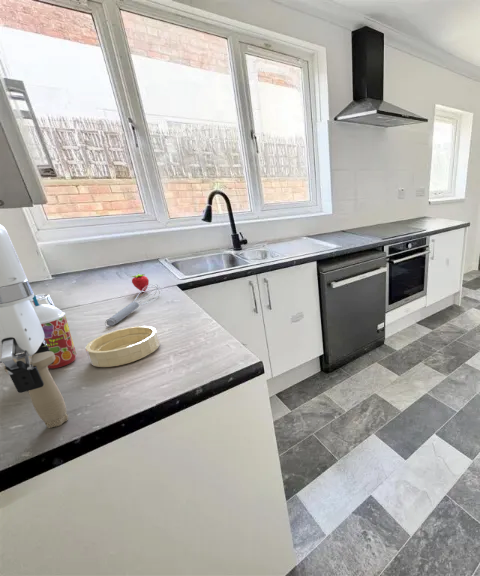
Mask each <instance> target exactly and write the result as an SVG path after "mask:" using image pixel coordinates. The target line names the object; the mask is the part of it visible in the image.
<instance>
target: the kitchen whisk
mask: <svg viewBox="0 0 480 576" xmlns="http://www.w3.org/2000/svg"><path fill="white" fill-rule="evenodd" d="M147 286H148V287H147V288H146V292H148V290H150V289H151V288H154V289H156V290H154V292H153V290H151V291H149V292H148V293H145V295H144V294H142V295H141V293H143V292H142V291H143V289H144V288H145V287H144V288H143V289H142V291H140V292H139V293H138V294H137V295H136V297H135V299H134V300H133V301H132V302H130V303H129V304H127V305H126V306H125V307H123V308H121V309H120V310H119V311H118V312H116V313H115V314H113V315H112V316H111V317H109V318H107V319H106V320H105V321H104V326H105V327H106V328H108V327H111V328H113V327H114V326H115V325H117V324H118V323H120V321H122V320H123V319H124V318H126V317H127V316H129V315H130V314H131V313H132V312H134V311H135V310H136V309H138V308H139V307H140V306H145V305H146V304H148V302H151V301H153V300H155V299H157V298H159V297H158V296H161V295H162V294H163V290H161V286H159V284H157V283H154V284H152V286H150V287H149V284H148V285H147ZM144 290H145V289H144ZM160 290H161V293H160ZM157 292H158V293H159V294H160V295H159V294H158V295H157V296H154V297H153V298H152V299H151V298H150V299H148V300H149V301H148V302H146V301H144V300H145V299H147V298H148V297H150V296H151V295H153V294H154V295H156V293H157ZM150 293H151V294H150ZM148 294H149V295H148ZM139 295H141V296H140V297H139ZM146 295H147V296H146ZM145 296H146V297H145ZM138 297H139V298H138ZM142 298H143V299H142ZM141 299H142V300H141ZM140 300H141V301H140ZM142 301H144V302H142ZM140 302H142V303H140Z"/></svg>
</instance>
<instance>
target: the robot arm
mask: <svg viewBox="0 0 480 576" xmlns="http://www.w3.org/2000/svg"><path fill="white" fill-rule="evenodd" d="M34 295H35V294H34V291H33V288H32V285H31V283H30V281H29V279H28V277H27V274H26V272H25V269H24V268H23V265H22V263H21V260H20V258H19V256H18V253H17V251H16V248H15V246H14V243H13V241H12V239H11V237H10V234H9V232H8V230H7V229H6V227H5V226H3V225H2V224H0V364H1V363H2V364H4V366H5V367H6V368H5V369H7V372H8V374H7V375H9V376H10V379H11V381H12V383H13V385H14V387H15V389H16V392H18V394H23V393H25V392H29V391H30V390H33V389H37V388H40V387H43V385H44V382H43V380H42V378H41V376H40V374H39V371H38V369H37V367H33V362H32V356H31V355H33V354H37V353H42V352H47V351H50V350H49V348H48V346H46V345H47V344H46V341H45V340H44V331H43V328H42V326H41V323H40V321H39V319H38V317H37V315H36V312H35V310H34V308H33V306H32V305H31V303H30V301H29V299H32V298H33V297H34ZM43 346H45V347H43ZM24 358H25V363H26V364H25V363H24V362H22V361H18V360H20V359H24ZM53 363H54V362H52V363H51V364H53ZM51 364H50V365H51ZM5 369H4V370H5ZM7 372H6V373H7Z"/></svg>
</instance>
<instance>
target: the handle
mask: <svg viewBox="0 0 480 576" xmlns="http://www.w3.org/2000/svg"><path fill="white" fill-rule="evenodd" d="M31 356H32V362H33V367H37V369H38V371H39V374H40V376H41V378H42V380H43V382H44V385H43V387H40V388H37V389H33V390H30V391H28V393H29V396H30V400H31V403H32V405H33V408H34V410H35V412H36V414H37V415H38V417H39V418H40V419H41V421H42V422H44V424H45V426H46V427H47V428H48V429H52V428H56V427H59V426H62V425H63V424H64V423H65V422H67V421H68V420H69V414H67V405H66V402H65V400H64V397H63V395H62V393H61V390H60V389H59V387H58V385H57V384H56V382H55V380H54V378H53V376H52V374H51V372H50V370H49V368H48V365H50V364H51V363H52V362H54V360H55V359H56V358H55V355H54V352H52V351H47V352H42V353H37V354H33V355H31ZM18 361H22V362H24V363H25V358H24V359H20V360H18ZM25 364H26V363H25ZM5 368H6V367H5V365H4V366H3V369H4V371H5V372H6V374H7V375H9V374H8V372H7V369H5Z"/></svg>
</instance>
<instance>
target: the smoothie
mask: <svg viewBox="0 0 480 576" xmlns="http://www.w3.org/2000/svg"><path fill="white" fill-rule="evenodd" d="M35 295H36V294H34V297H33V301H34V303H35V306H33V308H34V310H35V312H36V315H37V317H38V319H39V321H40V323H41V326H42V328H43V331H44V340H45V341H46V344H47V345H46V346H48V348H49V350H50V351H52V352H54V355H55V358H56V359H55V360H54V363H53V364H51V365H48V370H49V369H59V368H62V367H66V366H67V365H70V364H72V363H73V362H74V361H75V360H76V356H77V351H76V348H75V344H74V341H73V340H74V339H73V337H72V333H71V330H70V327H69V324H68V320H67V317H66V312H65V311H62V310H61V309H60V308H58V307H57V306H56V305H54V306H52V305H47V304H39V303H38V301H37V299H36V296H35ZM43 347H45V346H43Z"/></svg>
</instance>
